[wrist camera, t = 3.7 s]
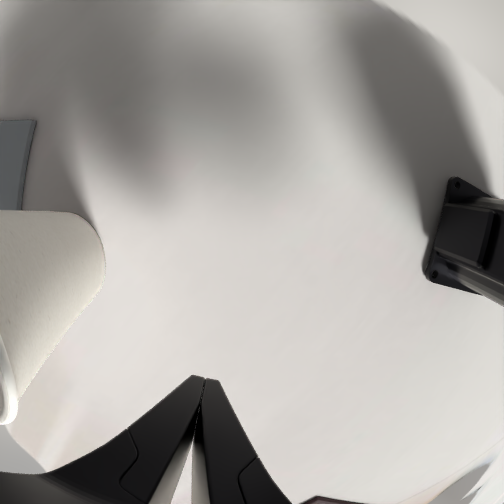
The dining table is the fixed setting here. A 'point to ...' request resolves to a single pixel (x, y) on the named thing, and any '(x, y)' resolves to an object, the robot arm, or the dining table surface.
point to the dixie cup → (41, 291)
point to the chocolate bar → (327, 501)
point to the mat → (14, 160)
